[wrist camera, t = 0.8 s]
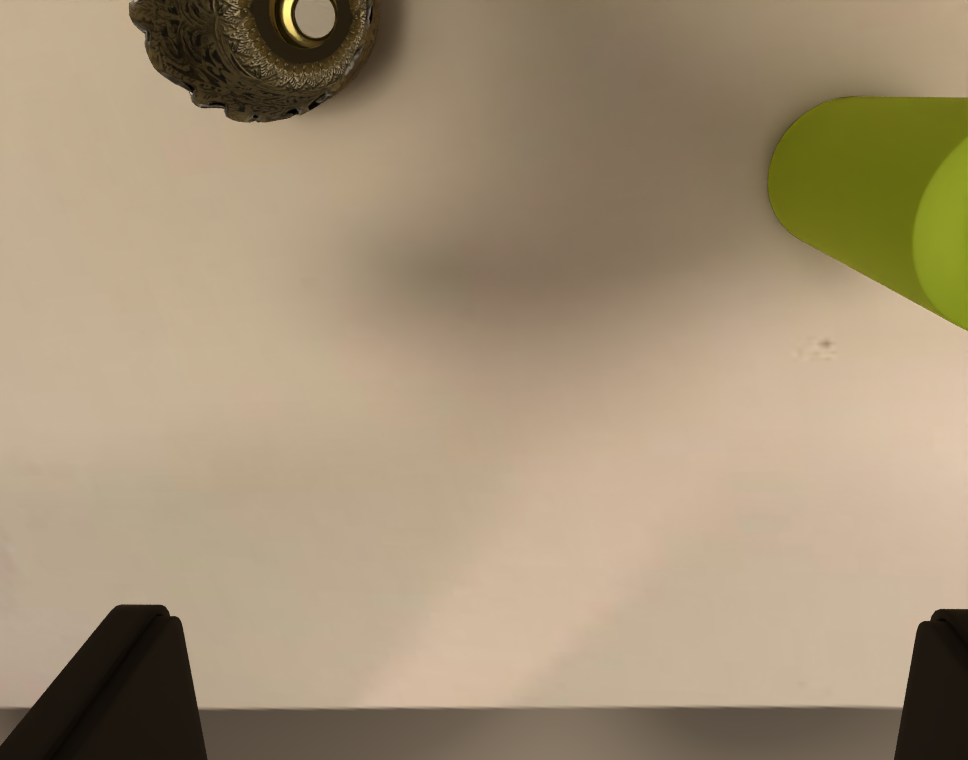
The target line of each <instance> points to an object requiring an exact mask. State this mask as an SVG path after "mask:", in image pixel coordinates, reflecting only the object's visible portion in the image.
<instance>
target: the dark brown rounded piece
mask: <svg viewBox="0 0 968 760" xmlns="http://www.w3.org/2000/svg"><path fill="white" fill-rule="evenodd" d="M297 1H298V0H138V1H137V2H135V3H134V0H133V1H132V2H130V3H129V15H130V18H131V20H132V22H133V23H134V25H135V26H136V27H137V28H138V29H139V30H141V31H142V32H143V33H145V48H146V51H147V54H148V57H149V59H150V61H151V63H152V65H153V67H154V68H155V69H156V70H157V71H158V72H159V73H160V74H161V75H163V76H164V77H165V78H167V79H168V80H170V81H171V82H173V83H175V84H176V85H179V86H181V87H183V88H185V89H186V90H188V91H190V92H192V93H193V95H191V94H190V92H189V94H190V96H191V101H192V102H193V103H194V104H195V105H196V106H198V107H201V108H223V109H224V112H225V115H226V117H228V118H230V119H232V120H235V121H239V122H249V123H251V122H253V121H255V120H256V121H257V122H271V121H276V120H281V119H287V118H290V117H292V116H293V115H297V114H299V116H300V115H302V114H304V113H306V112H308V111H310V110H312V109H314V108H315V107H317V106H318V105H320V104H321V103H323V102H324V101H326V100H328V99H330V98H331V97H333V96H334V95H336V94H337V93H338V92H340V91H341V90H342V89H344V88H345V87H346V86H347V85H348V84H349V83H350V82H351V81H352V80H353V79H354V78H355V77H356V76H357V74H358V73H359V72H360V71H361V69H362V67H363V66H364V64H365V63H366V61H367V59H368V57H369V55H370V53H371V51H372V48H373V45H374V42H375V39H376V35H377V31H378V23H379V0H330V2H331V3H332V5H333V7H334V10H335V23H334V26H333V28H332V30H331V31H330V32H329V33H328V34H327V35H325V36H323V37H320V38H311V37H308V36H306V35H305V34H303V33H302V32H301V31H300V30H299V28H298V27H297V25H296V23H295V20H294V7H295V4H296V2H297Z"/></svg>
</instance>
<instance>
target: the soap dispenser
mask: <svg viewBox="0 0 968 760" xmlns="http://www.w3.org/2000/svg"><path fill="white" fill-rule="evenodd" d="M768 192H769V198H770V202H771V205H772V208H773V210H774V212H775V214H776V216H777V218H778V220H779V221H780V222H781V224H782V225H783V226H784V227H785V228H786V229H787V230H788V231H789V232H790V233H791V234H792V235H794V236H795V237H797V238H798V239H800V240H802V241H804V242H805V243H807V244H809V245H811V246H813V247H814V248H816V249H818V250H820V251H822V252H824V253H825V254H827V255H829V256H831V257H833V258H835V259H836V260H838V261H840V262H842V263H844V264H846V265H847V266H849V267H851V268H853V269H855V270H856V271H858V272H860V273H862V274H864V275H866V276H867V277H869V278H871V279H873V280H875V281H877V282H878V283H880V284H882V285H884V286H886V287H888V288H889V289H891V290H893V291H895V292H897V293H898V294H900V295H902V296H904V297H906V298H908V299H909V300H911V301H913V302H915V303H917V304H919V305H920V306H922V307H924V308H926V309H928V310H930V311H931V312H933V313H935V314H937V315H939V316H940V317H942V318H944V319H946V320H948V321H950V322H951V323H953V324H955V325H957V326H959V327H961V328H963V329H965V330H967V331H968V98H951V97H843V98H838V99H834V100H831V101H828V102H825V103H823V104H820V105H818V106H816V107H814V108H813V109H811V110H809V111H808V112H806V113H805V114H804V115H802V116H801V117H800V118H799V119H798V120H797V121H795V122H794V123H793V124H792V126H791V127H790V128H789V129H788V130H787V131H786V133H785V134H784V135H783V137H782V138H781V140H780V142H779V143H778V145H777V147H776V149H775V152H774V154H773V157H772V160H771V163H770V168H769V174H768Z"/></svg>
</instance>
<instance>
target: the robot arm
mask: <svg viewBox="0 0 968 760" xmlns="http://www.w3.org/2000/svg"><path fill="white" fill-rule="evenodd" d="M0 760H207V755H206V749H205V744H204V739H203V733H202V728H201V723H200V717H199V712H198V707H197V701H196V696H195V691H194V685H193V680H192V675H191V669H190V664H189V659H188V653H187V648H186V643H185V637H184V632H183V627H182V623H181V621H180V619H179V618H178V617H176V616H170V614H169V611H168V610H167V608H166V607H165V606H163V605H118V606H116V607H115V608H114V609H112V610H111V611H110V613H109V614H108V615H107V616H106V618H105V619H104V620H103V621H102V622H101V624H100V625H99V626H98V627H97V629H96V630H95V631H94V632H93V633H92V635H91V636H90V637H89V638H88V640H87V641H86V642H85V643H84V644H83V646H82V647H81V648H80V649H79V651H78V652H77V653H76V654H75V655H74V657H73V658H72V659H71V660H70V662H69V663H68V664H67V665H66V666H65V668H64V669H63V670H62V671H61V673H60V674H59V675H58V676H57V677H56V679H55V680H54V681H53V682H52V684H51V685H50V686H49V687H48V688H47V690H46V691H45V692H44V693H43V695H42V696H41V697H40V698H39V699H38V701H37V702H36V703H35V704H34V706H33V707H32V708H31V709H30V711H29V712H28V713H27V714H26V716H25V717H24V718H23V719H22V720H21V721H20V723H19V724H18V725H17V726H16V728H15V729H14V730H13V731H12V732H11V734H10V735H9V736H8V737H7V739H6V740H5V741H4V742H3V743H2V745H1V746H0ZM894 760H968V609H939V610H937V611H935V612H934V614H933V615H932V617H931V620H930V621H924V622H921V623H920V624H919V626H918V629H917V632H916V638H915V644H914V649H913V655H912V661H911V666H910V672H909V678H908V683H907V689H906V695H905V700H904V706H903V711H902V717H901V724H900V729H899V734H898V740H897V746H896V751H895V757H894Z"/></svg>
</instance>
